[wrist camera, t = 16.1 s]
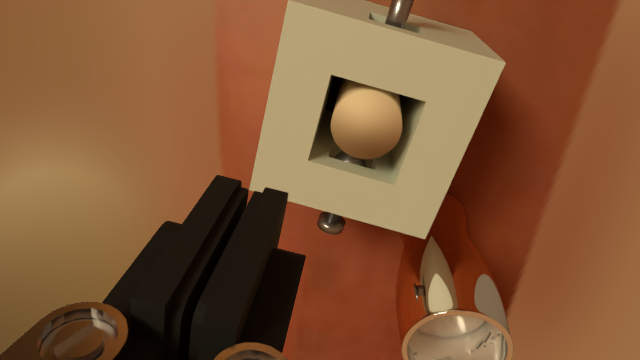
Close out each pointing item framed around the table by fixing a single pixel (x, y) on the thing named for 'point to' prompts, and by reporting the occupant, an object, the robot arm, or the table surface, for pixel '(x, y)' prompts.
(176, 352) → the robot arm
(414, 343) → the beer glass
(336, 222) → the plunger
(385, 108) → the peg
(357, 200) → the socket
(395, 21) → the plunger
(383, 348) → the table surface
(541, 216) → the table surface
